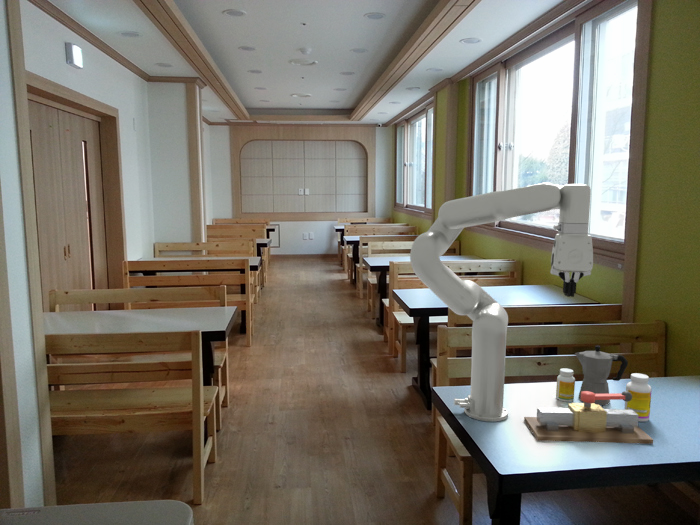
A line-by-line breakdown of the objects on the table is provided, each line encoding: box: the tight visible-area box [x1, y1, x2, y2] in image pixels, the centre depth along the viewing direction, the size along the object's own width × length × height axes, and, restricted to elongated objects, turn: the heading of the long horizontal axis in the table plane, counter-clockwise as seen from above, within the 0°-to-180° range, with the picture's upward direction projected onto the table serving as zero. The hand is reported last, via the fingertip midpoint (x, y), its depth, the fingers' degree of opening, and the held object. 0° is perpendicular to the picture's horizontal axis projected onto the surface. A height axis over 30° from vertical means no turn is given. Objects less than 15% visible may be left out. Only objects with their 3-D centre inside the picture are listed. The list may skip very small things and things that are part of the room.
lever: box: [580, 390, 632, 408], centre depth 151 cm, size 14×4×4 cm, turn 94°
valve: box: [536, 402, 639, 434], centre depth 152 cm, size 26×6×6 cm, turn 88°
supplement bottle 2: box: [623, 372, 652, 423], centre depth 162 cm, size 7×7×13 cm
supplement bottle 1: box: [555, 367, 576, 403], centre depth 176 cm, size 5×5×10 cm
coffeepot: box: [574, 345, 629, 406], centre depth 174 cm, size 15×9×18 cm, turn 68°
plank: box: [523, 416, 654, 445], centre depth 152 cm, size 30×13×1 cm, turn 88°
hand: (569, 295), depth 153 cm, fingers closed
